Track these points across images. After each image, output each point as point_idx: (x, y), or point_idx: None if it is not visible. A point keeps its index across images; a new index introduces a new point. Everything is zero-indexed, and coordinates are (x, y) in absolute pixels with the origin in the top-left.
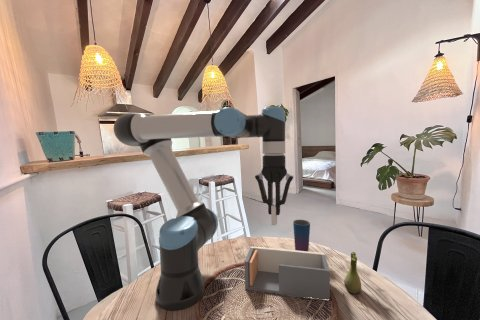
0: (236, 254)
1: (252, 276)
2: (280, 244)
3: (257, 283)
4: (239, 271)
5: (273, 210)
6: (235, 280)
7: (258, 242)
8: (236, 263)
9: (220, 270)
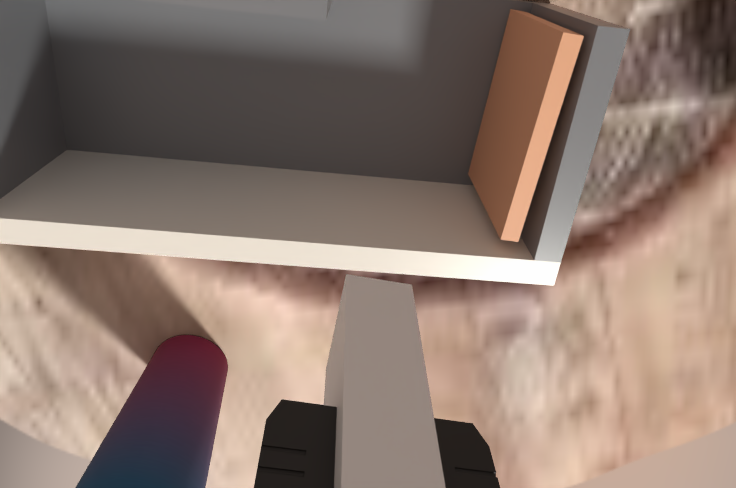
0: (593, 350)
1: (521, 32)
2: None
3: (473, 48)
4: None
5: (392, 461)
6: None
7: None
8: (596, 262)
9: (702, 181)
